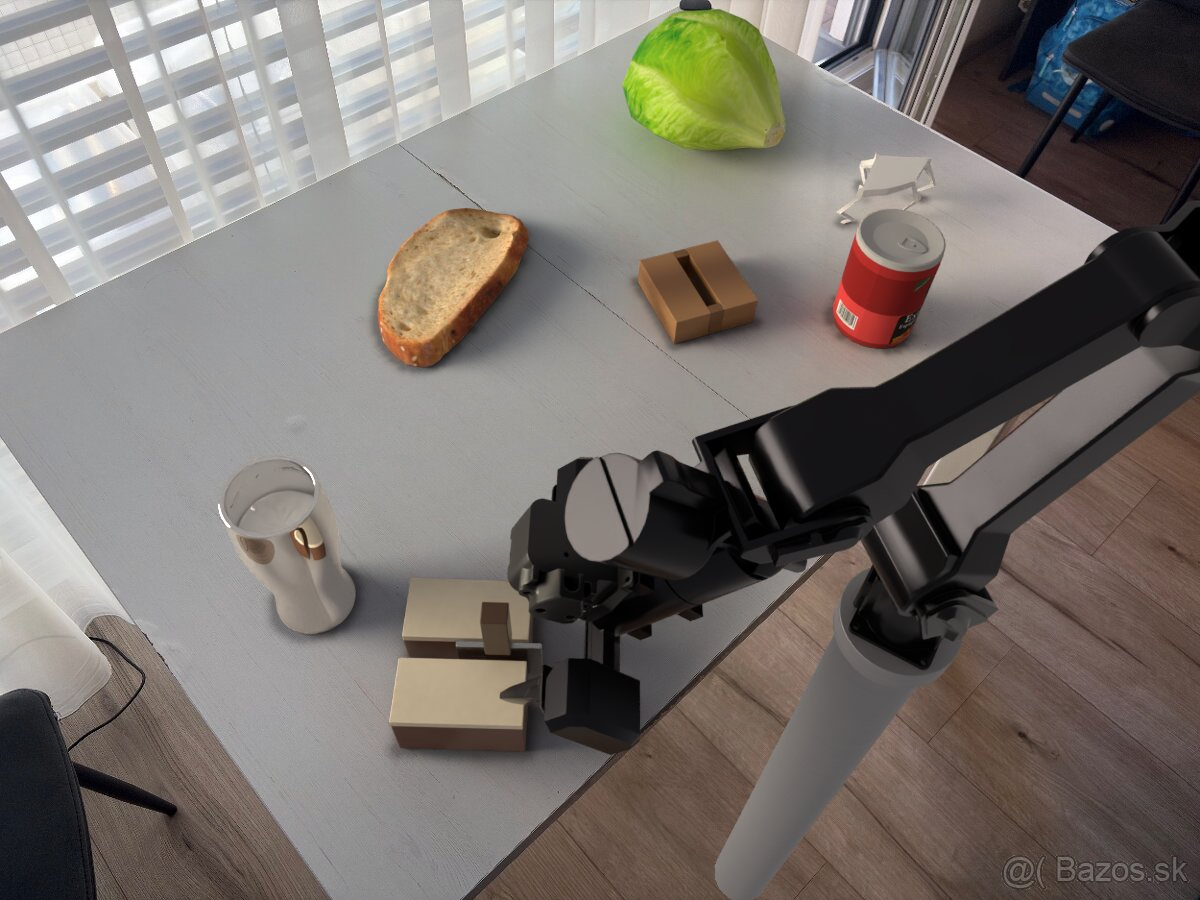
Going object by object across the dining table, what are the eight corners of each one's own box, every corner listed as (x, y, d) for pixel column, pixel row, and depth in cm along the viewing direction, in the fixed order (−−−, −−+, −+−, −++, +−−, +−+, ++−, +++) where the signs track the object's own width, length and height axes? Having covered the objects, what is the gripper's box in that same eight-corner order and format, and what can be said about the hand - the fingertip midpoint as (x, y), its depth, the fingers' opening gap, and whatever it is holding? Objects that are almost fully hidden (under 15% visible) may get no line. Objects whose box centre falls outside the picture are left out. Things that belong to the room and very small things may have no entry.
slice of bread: (398, 377, 90) (392, 350, 87) (345, 253, 99) (338, 224, 96) (576, 322, 94) (576, 295, 91) (509, 209, 104) (507, 180, 101)
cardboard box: (753, 322, 95) (758, 300, 93) (673, 344, 93) (676, 322, 91) (714, 262, 100) (717, 239, 97) (637, 282, 98) (639, 260, 95)
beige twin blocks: (533, 612, 76) (532, 581, 72) (525, 751, 70) (522, 726, 65) (419, 609, 76) (410, 577, 72) (399, 748, 69) (389, 722, 65)
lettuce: (720, 208, 105) (738, 97, 94) (591, 123, 113) (594, 13, 102) (808, 148, 111) (835, 39, 100) (680, 72, 120) (692, -37, 109)
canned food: (903, 360, 93) (939, 276, 84) (822, 336, 94) (848, 251, 85) (917, 306, 97) (953, 221, 88) (839, 284, 98) (866, 198, 89)
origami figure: (869, 166, 110) (880, 129, 106) (934, 199, 107) (949, 162, 103) (811, 218, 104) (820, 181, 100) (878, 255, 101) (890, 218, 97)
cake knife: (543, 669, 73) (540, 602, 64) (542, 689, 72) (539, 624, 63) (464, 667, 73) (450, 600, 64) (462, 687, 72) (447, 622, 63)
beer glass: (320, 656, 73) (271, 558, 61) (252, 611, 75) (191, 507, 63) (380, 587, 77) (344, 481, 65) (313, 546, 79) (267, 436, 67)
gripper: (593, 374, 58) (433, 472, 67) (585, 665, 48) (394, 736, 56) (709, 454, 65) (548, 534, 74) (725, 725, 54) (534, 781, 63)
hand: (509, 633), depth 67 cm, fingers open, 9 cm apart
